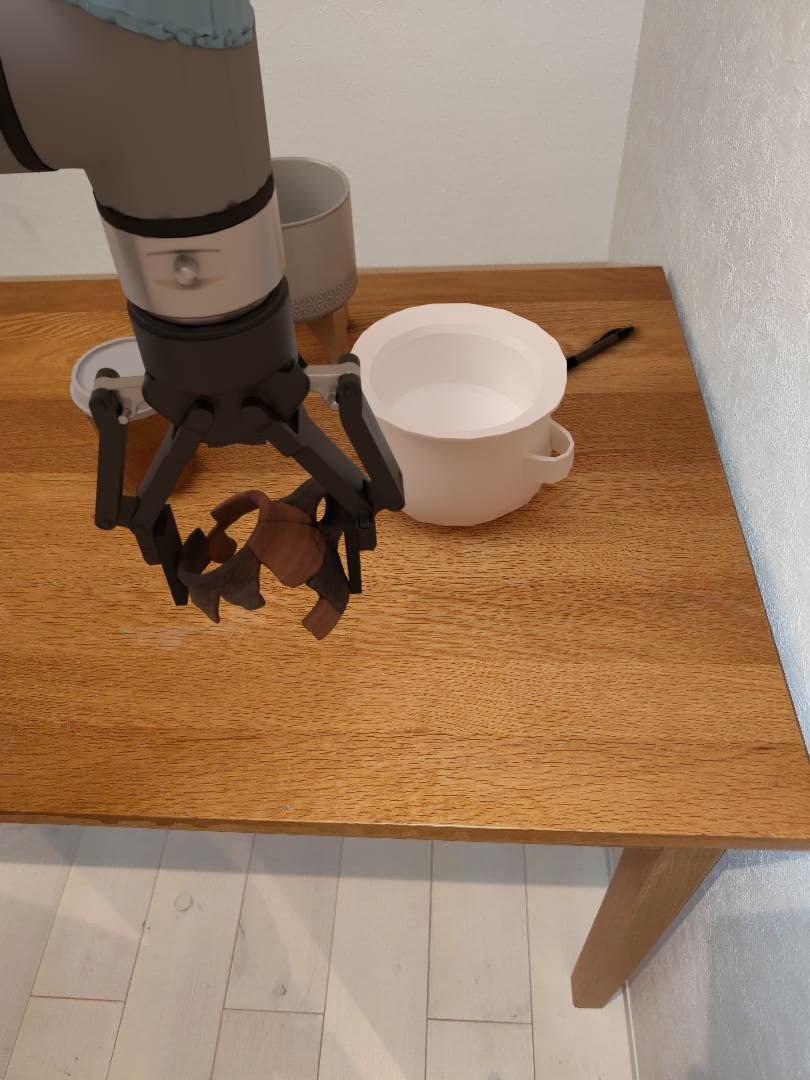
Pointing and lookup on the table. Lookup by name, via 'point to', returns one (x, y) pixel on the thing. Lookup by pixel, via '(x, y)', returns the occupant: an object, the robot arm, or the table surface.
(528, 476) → the pot
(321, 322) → the planter
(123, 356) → the disposable coffee cup
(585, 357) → the pen
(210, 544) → the pottery mug
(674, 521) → the table surface
